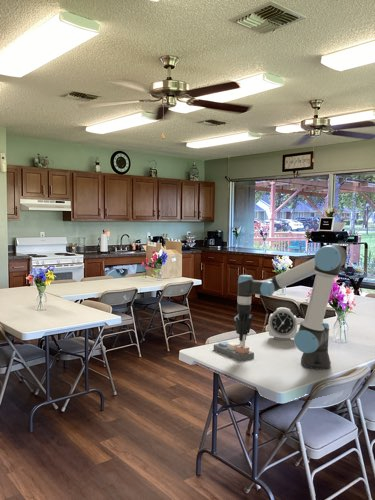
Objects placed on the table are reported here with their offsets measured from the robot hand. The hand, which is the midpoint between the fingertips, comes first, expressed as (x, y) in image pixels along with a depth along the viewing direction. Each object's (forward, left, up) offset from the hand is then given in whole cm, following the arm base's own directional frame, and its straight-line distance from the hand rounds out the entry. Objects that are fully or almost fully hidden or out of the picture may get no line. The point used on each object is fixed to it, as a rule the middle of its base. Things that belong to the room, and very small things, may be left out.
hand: (242, 346), depth 235 cm
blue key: (+15, 0, -5) cm, 16 cm away
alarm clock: (+15, -48, -7) cm, 51 cm away
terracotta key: (0, 0, -4) cm, 4 cm away
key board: (+7, 0, -6) cm, 10 cm away
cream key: (+7, 0, -4) cm, 8 cm away
